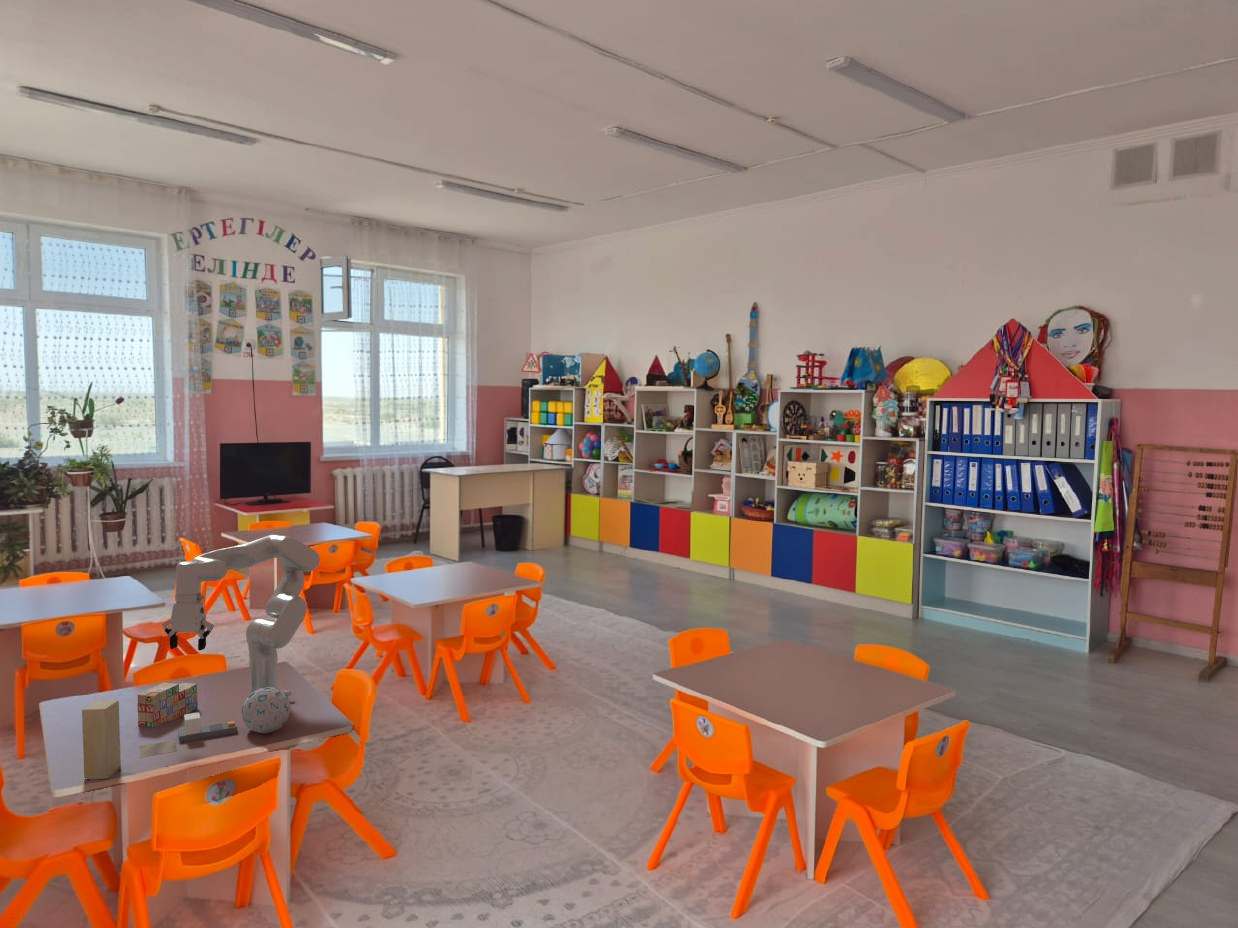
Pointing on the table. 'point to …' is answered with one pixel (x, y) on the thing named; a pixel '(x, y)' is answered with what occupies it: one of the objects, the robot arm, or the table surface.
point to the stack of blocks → (166, 703)
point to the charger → (192, 723)
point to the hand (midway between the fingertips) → (187, 648)
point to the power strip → (209, 731)
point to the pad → (158, 748)
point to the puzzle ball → (266, 710)
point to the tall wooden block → (101, 739)
